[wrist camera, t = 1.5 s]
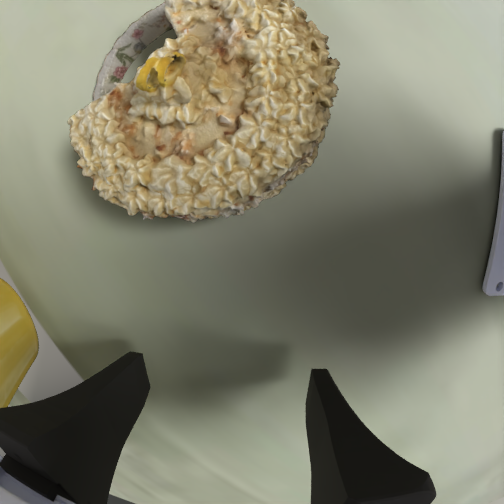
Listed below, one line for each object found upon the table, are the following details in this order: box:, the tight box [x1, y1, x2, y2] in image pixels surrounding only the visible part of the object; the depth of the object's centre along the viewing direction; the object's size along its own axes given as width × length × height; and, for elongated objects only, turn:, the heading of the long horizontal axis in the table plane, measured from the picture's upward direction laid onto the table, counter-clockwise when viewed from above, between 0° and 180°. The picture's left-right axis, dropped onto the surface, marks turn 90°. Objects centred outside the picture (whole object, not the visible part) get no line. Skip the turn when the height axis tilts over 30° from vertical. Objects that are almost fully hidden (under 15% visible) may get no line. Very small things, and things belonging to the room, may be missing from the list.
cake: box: [67, 0, 340, 223], centre depth 8 cm, size 10×10×5 cm
